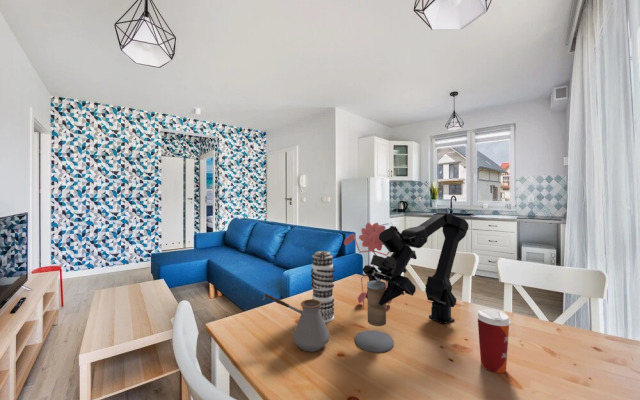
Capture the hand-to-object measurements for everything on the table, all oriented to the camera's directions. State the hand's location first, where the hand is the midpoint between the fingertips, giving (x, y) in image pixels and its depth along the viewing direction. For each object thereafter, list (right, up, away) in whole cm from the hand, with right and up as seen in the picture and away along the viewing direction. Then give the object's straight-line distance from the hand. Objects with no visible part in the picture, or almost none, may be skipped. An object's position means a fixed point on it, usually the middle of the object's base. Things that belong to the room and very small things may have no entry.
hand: (373, 301), depth 81 cm
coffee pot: (-24, -14, +1) cm, 28 cm away
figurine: (+7, -14, +33) cm, 36 cm away
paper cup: (+30, -13, -11) cm, 35 cm away
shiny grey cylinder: (+1, -7, +1) cm, 7 cm away
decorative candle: (-15, -14, +19) cm, 28 cm away
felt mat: (+1, -13, +2) cm, 13 cm away
